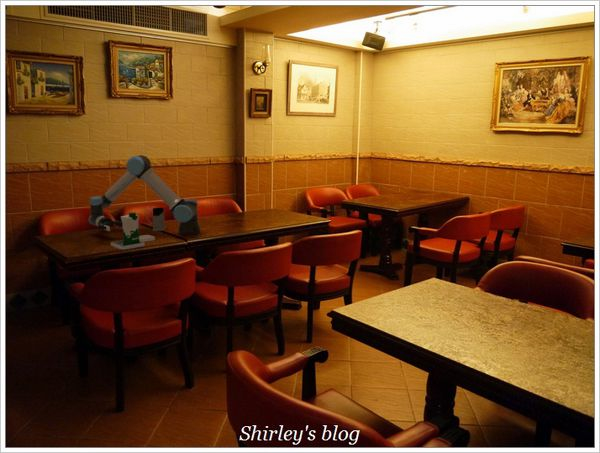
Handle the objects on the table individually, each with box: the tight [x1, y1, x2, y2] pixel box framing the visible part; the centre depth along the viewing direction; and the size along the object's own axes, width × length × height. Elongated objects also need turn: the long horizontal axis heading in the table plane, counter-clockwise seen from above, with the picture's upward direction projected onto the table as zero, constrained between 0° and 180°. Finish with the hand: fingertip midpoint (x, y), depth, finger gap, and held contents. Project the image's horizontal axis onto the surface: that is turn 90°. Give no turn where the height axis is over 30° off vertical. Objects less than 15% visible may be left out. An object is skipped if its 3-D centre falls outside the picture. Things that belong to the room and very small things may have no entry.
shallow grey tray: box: [110, 239, 146, 251], centre depth 315 cm, size 15×15×2 cm
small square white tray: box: [139, 234, 156, 243], centre depth 330 cm, size 9×9×2 cm
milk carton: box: [120, 212, 140, 246], centre depth 313 cm, size 9×9×20 cm
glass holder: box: [145, 207, 166, 232], centre depth 362 cm, size 9×14×15 cm, turn 78°
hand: (119, 227), depth 318 cm, fingers open, 13 cm apart
